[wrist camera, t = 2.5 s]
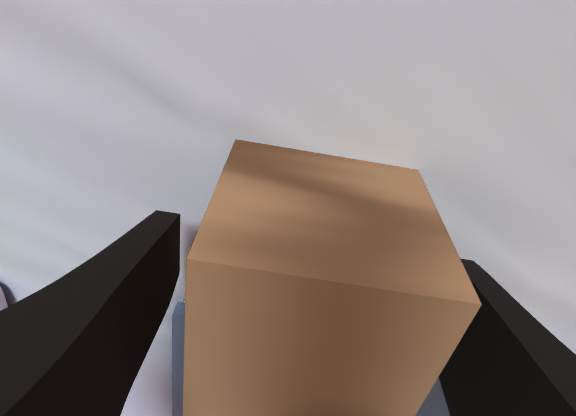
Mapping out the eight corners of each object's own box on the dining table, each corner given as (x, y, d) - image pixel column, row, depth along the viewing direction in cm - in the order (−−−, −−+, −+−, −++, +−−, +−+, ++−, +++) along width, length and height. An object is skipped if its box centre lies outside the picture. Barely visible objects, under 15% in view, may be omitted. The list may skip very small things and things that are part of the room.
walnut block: (223, 274, 13) (182, 422, 9) (236, 138, 11) (186, 258, 7) (368, 297, 14) (393, 451, 9) (417, 168, 11) (482, 304, 7)
